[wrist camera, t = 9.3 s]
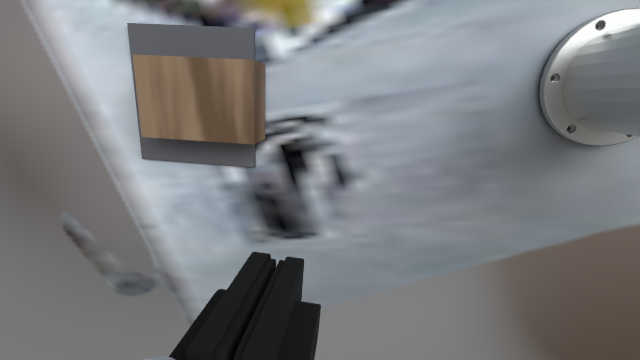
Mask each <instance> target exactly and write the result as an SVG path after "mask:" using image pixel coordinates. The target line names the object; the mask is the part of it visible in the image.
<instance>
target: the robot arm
mask: <svg viewBox="0 0 640 360" xmlns="http://www.w3.org/2000/svg"><path fill="white" fill-rule="evenodd" d="M551 77H552V79H551ZM539 95H540V104H541V108H542V111H543V114H544V116H545V118H546V120H547V121H548V123H549V125H550V126H551V127H552V128H553V129H554V130H555V131H556V132H557V133H559V134H560V135H562V136H563V137H565V138H566V139H569V140H572V141H574V142H577V143H582V144H586V145H596V146H605V145H614V144H618V143H622V142H625V141H629V140H631V139H633V138H635V137H638V136H640V8H632V9H621V10H617V11H613V12H609V13H606V14H603V15H600V16H598V17H595V18H593V19H591V20H589V21H587V22H585V23H583V24H582V25H580V26H579V27H577V28H576V29H575V30H573V31H572V32H571V33H569V34H568V35H567V36H566V37H565V38H564V39H563V41H562V42H561V43H560V44H559V45H558V46H557V47H556V49H555V50H554V52H553V53H552V55H551V56H550V58H549V60H548V62H547V64H546V66H545V68H544V71H543V75H542V78H541V82H540V92H539ZM567 127H568V128H567ZM303 270H304V259H301V258H294V257H286V259H285V261H283V260H280V261H279V263H278V265H277V267H276V260H275V259H271V255H270V254H266V253H259V252H253V253H252V254H251V255H250V257H249V258H248V260H247V261H246V262H245V264H244V265H243V267H242V268H241V270H240V271H239V273H238V274H237V276H236V277H235V279H234V280H233V282H232V283H231V285H230V286H229V288H228V289H227V290H223V289H219V290H218V291H217V292H216V293H215V294H214V295H213V297H212V298H211V299H210V301H209V302H208V304H207V305H206V306H205V308H204V309H203V310H202V312H201V313H200V315H199V316H198V317H197V319H196V320H195V321H194V323H193V324H192V326H191V327H190V328H189V330H188V331H187V333H186V334H185V335H184V337H183V338H182V339H181V341H180V342H179V344H178V345H177V347H176V348H175V349H174V350H173V352H172V353H171V355H170V356H169V357H165V356H158V357H150V358H147V359H144V360H314V357H315V351H316V344H317V337H318V329H319V319H320V309H321V305H320V304H314V303H307V302H301V298H302V284H303Z"/></svg>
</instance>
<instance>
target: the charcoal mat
mask: <svg viewBox="0 0 640 360" xmlns="http://www.w3.org/2000/svg"><path fill="white" fill-rule="evenodd" d="M127 24H128V34H129V43H130V52H131V61H132V70H133V79H134V89H135V98H136V107H137V116H138V125H139V134H140V144H141V153H142V159H153V160H165V161H178V162H191V163H204V164H217V165H230V166H243V167H255V144H254V145H253V144H238V143H223V142H208V141H194V140H179V139H164V138H150V137H142V136H141V127H140V118H139V109H138V100H137V91H136V82H135V73H134V64H133V54H136V55H158V56H181V57H203V58H225V59H248V60H255V29H254V28H237V27H212V26H187V25H161V24H136V23H127Z"/></svg>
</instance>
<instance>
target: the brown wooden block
mask: <svg viewBox="0 0 640 360" xmlns="http://www.w3.org/2000/svg"><path fill="white" fill-rule="evenodd" d="M133 64H134V73H135V82H136V91H137V100H138V109H139V118H140V127H141V136H142V137H150V138H164V139H179V140H194V141H208V142H223V143H238V144H253V145H254V144H256V143H258V142H260V141H262V140H264V139H265V64H264V63H261V62H258V61H256V60H248V59H225V58H203V57H181V56H158V55H136V54H133Z"/></svg>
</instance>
